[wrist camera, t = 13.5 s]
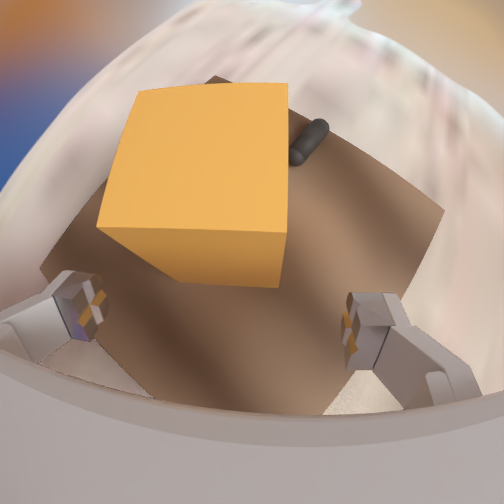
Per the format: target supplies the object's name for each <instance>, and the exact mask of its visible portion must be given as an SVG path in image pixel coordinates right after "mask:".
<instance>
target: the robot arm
mask: <svg viewBox="0 0 504 504" xmlns="http://www.w3.org/2000/svg"><path fill="white" fill-rule="evenodd" d="M103 285H104V284H103V281H102V278H101V276H99V275H98V274H94V273H86V272H79V271H71V270H64V271H62V272H61V273H60V274H59V275H58V276H57V277H56V278H55V279H54V280H53V281H52V282H51V283H50V284H49V285H48V286H47V287H46V288H45V289H44V291H43V292H42V293H41V294H35V295H33V296H31V297H29V298H27V299H25V300H23V301H21V302H18V303H16V304H14V305H12V306H10V307H8V308H6V309H4V310H2V311H0V504H504V390H503V391H500V392H496V393H492V394H489V395H485V396H482V393H481V391H480V388H479V386H478V384H477V381H476V379H475V377H474V375H473V372H472V370H471V368H470V366H469V365H468V364H466V363H465V362H464V361H462V360H461V359H460V358H458V357H457V356H456V355H454V354H453V353H452V352H450V351H449V350H448V349H446V348H445V347H444V346H442V345H441V344H440V343H438V342H437V341H436V340H434V339H433V338H432V337H430V336H429V335H428V334H426V333H425V332H424V331H422V330H421V329H420V328H418V327H417V326H411V323H410V321H409V319H408V317H407V314H406V312H405V310H404V308H403V306H402V304H401V301H400V299H399V297H398V295H397V293H395V292H349V294H348V296H347V300H346V306H347V311H346V312H345V313H344V314H343V317H342V321H341V341H342V344H343V345H344V346H346V347H345V350H344V359H345V365H346V370H373V373H374V374H375V375H376V376H377V377H378V378H379V380H380V381H381V382H382V383H383V384H384V385H385V387H386V388H387V389H388V390H389V391H390V392H391V394H392V395H393V396H394V397H395V398H396V399H397V401H398V402H399V403H400V404H401V405H402V406H403V408H404V409H403V410H400V411H390V412H379V413H366V414H346V415H286V414H266V413H252V412H241V411H231V410H222V409H214V408H206V407H199V406H193V405H186V404H180V403H175V402H169V401H164V400H159V399H154V398H149V397H145V396H140V395H136V394H132V393H128V392H124V391H120V390H116V389H112V388H108V387H105V386H101V385H98V384H94V383H91V382H88V381H84V380H81V379H78V378H75V377H72V376H69V375H66V374H63V373H60V372H57V371H54V370H52V369H49V368H46V367H44V366H41V365H38V363H39V362H41V361H42V360H43V359H45V358H46V357H48V356H49V355H50V354H52V353H53V352H54V351H56V350H57V349H58V348H60V347H61V346H63V345H64V344H65V343H67V342H68V341H70V340H71V338H74V339H78V340H83V341H88V342H90V341H91V339H92V338H93V336H94V335H95V333H96V332H97V330H98V325H97V324H99V323H101V322H102V321H104V319H105V318H106V316H107V314H108V310H109V301H108V298H107V295H106V294H105V293H104V291H103V290H102V287H103Z"/></svg>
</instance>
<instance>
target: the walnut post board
mask: <svg viewBox="0 0 504 504" xmlns="http://www.w3.org/2000/svg"><path fill="white" fill-rule="evenodd" d="M218 83H232V82H230V81H228V80H225V79H223V78H220V77H218V76H214V77H212V78H211V79H210V80H209V81H207V82H206V83H205V84H218ZM108 178H109V177H108ZM108 178H107V179H106V181H105V182H104V183H103V184H102V185H101V186H100V188H99V189H98V190H97V191H96V192H95V194H94V195H93V196H92V197H91V198H90V200H89V201H88V202H87V203H86V205H85V206H84V207H83V208H82V210H81V211H80V212H79V214H78V215H77V216H76V217H75V219H74V220H73V221H72V223H71V224H70V225H69V227H68V228H67V229H66V231H65V232H64V234H63V235H62V236H61V238H60V239H59V241H58V242H57V243H56V245H55V246H54V248H53V249H52V251H51V252H50V254H49V255H48V256H47V258H46V259H45V261H44V263H43V264H42V266H41V267H40V270H41V271H42V273H43V274H44V276H45V277H46V279H47V280H48V281H49V283H51V282H52V281H53V280H54V279H55V278H56V277H57V276H58V275H59V274H60V273H61V272H62V271H64V270H71V271H79V272H86V273H94V274H98V275H99V276H101V278H102V281H103V284H104V285H103V287H102V290H103V291H104V293H105V294H106V295H107V298H108V301H109V310H108V314H107V316H106V318H105V319H104V321H102V322H101V323H99V324H97V325H98V330H97V332H96V333H95V335H94V336H93V337H94V338H95V340H96V341H97V342H98V343H99V344H100V345H101V346H102V347H103V348H104V349H105V350H106V352H107V353H108V354H109V355H110V356H111V357H112V358H113V359H114V360H115V361H116V362H117V363H118V364H119V365H120V366H121V367H122V368H123V369H124V370H125V371H126V372H127V373H128V374H129V375H130V376H131V377H132V378H133V379H134V380H135V381H136V382H137V383H138V384H139V385H140V386H141V387H143V388H144V389H145V390H146V391H147V392H148V393H149V394H150V395H151V396H152V397H153V398H155V399H159V400H164V401H169V402H175V403H180V404H186V405H193V406H199V407H206V408H214V409H222V410H231V411H241V412H252V413H266V414H286V415H322V414H323V413H324V412H325V410H326V409H327V408H328V407H329V405H330V404H331V403H332V401H333V400H334V399H335V398H336V396H337V395H338V394H339V392H340V391H341V390H342V388H343V387H344V386H345V384H346V383H347V382H348V380H349V379H350V378H351V376H352V375H353V374H354V372H355V371H356V370H346V365H345V359H344V350H345V347H346V346H344V345H343V344H342V341H341V321H342V317H343V314H344V313H345V312H346V311H347V306H346V300H347V296H348V294H349V292H395V293H397V295H398V297H399V299H400V300H401V299H402V297H403V295H404V293H405V292H406V290H407V288H408V286H409V284H410V282H411V281H412V279H413V277H414V275H415V273H416V271H417V269H418V267H419V265H420V263H421V261H422V259H423V257H424V255H425V253H426V251H427V249H428V247H429V245H430V243H431V241H432V239H433V236H434V234H435V232H436V230H437V228H438V225H439V223H440V221H441V218H442V216H443V214H444V211H445V210H444V209H442V208H441V207H440V206H439V205H437V204H436V203H435V202H434V201H432V200H431V199H430V198H429V197H427V196H426V195H425V194H423V193H422V192H421V191H420V190H418V189H417V188H416V187H414V186H413V185H411V184H410V183H409V182H407V181H406V180H405V179H403V178H402V177H400V176H399V175H398V174H396V173H395V172H393V171H392V170H390V169H389V168H388V167H386V166H385V165H383V164H382V163H380V162H379V161H377V160H376V159H374V158H373V157H371V156H370V155H368V154H367V153H365V152H363V151H362V150H360V149H359V148H357V147H356V146H354V145H352V144H351V143H349V142H347V141H346V140H344V139H342V138H341V137H339V136H337V135H336V134H334V133H332V132H331V131H329V124H328V123H327V122H326V121H325V120H323V119H315V120H313V121H311V120H309V119H307V118H305V117H304V116H302V115H300V114H298V113H296V112H294V111H292V110H290V109H288V210H287V236H286V242H285V249H284V256H283V262H282V269H281V275H280V282H279V288H264V287H245V286H228V285H212V284H197V283H183V282H178V281H176V280H175V279H173V278H171V277H170V276H168V275H167V274H165V273H164V272H162V271H160V270H159V269H157V268H156V267H154V266H153V265H151V264H150V263H148V262H147V261H145V260H144V259H142V258H141V257H139V256H138V255H136V254H135V253H133V252H132V251H130V250H129V249H127V248H126V247H124V246H123V245H121V244H120V243H118V242H117V241H115V240H114V239H113V238H111V237H110V236H108V235H107V234H105V233H104V232H102V231H101V230H100V229H98V228H97V227H96V225H97V221H98V216H99V212H100V208H101V204H102V200H103V196H104V192H105V189H106V185H107V181H108Z"/></svg>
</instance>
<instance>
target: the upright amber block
mask: <svg viewBox="0 0 504 504" xmlns="http://www.w3.org/2000/svg"><path fill="white" fill-rule="evenodd" d="M287 210H288V83H218V84H201V85H188V86H177V87H168V88H160V89H152V90H145V91H139V92H138V94H137V97H136V99H135V102H134V104H133V107H132V109H131V112H130V115H129V117H128V120H127V123H126V125H125V128H124V131H123V134H122V137H121V140H120V143H119V146H118V149H117V152H116V155H115V158H114V161H113V164H112V168H111V171H110V174H109V178H108V181H107V185H106V189H105V192H104V196H103V200H102V204H101V208H100V212H99V216H98V221H97V225H96V227H97V228H98V229H100V230H101V231H102V232H104V233H105V234H107V235H108V236H110V237H111V238H113V239H114V240H115V241H117V242H118V243H120V244H121V245H123V246H124V247H126V248H127V249H129V250H130V251H132V252H133V253H135V254H136V255H138V256H139V257H141V258H142V259H144V260H145V261H147V262H148V263H150V264H151V265H153V266H154V267H156V268H157V269H159V270H160V271H162V272H164V273H165V274H167V275H168V276H170V277H171V278H173V279H175V280H176V281H178V282H183V283H197V284H212V285H228V286H245V287H264V288H279V282H280V275H281V269H282V262H283V256H284V249H285V242H286V236H287Z"/></svg>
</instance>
